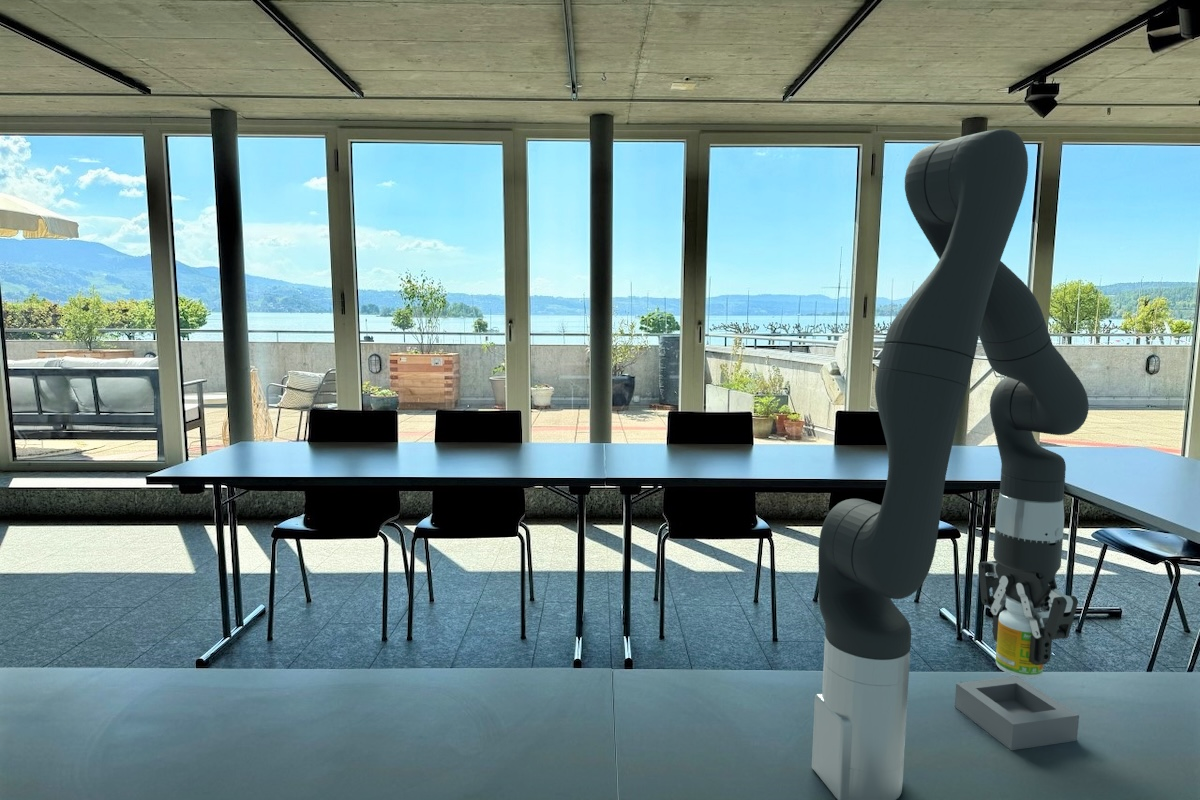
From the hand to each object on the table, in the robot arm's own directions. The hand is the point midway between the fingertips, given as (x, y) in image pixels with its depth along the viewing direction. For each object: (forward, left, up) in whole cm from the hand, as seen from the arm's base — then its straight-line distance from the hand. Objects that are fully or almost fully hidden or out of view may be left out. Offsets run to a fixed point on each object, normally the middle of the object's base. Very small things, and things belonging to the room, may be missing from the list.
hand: (1019, 651), depth 91 cm
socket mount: (0, 0, -10) cm, 10 cm away
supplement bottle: (0, 0, -3) cm, 3 cm away
